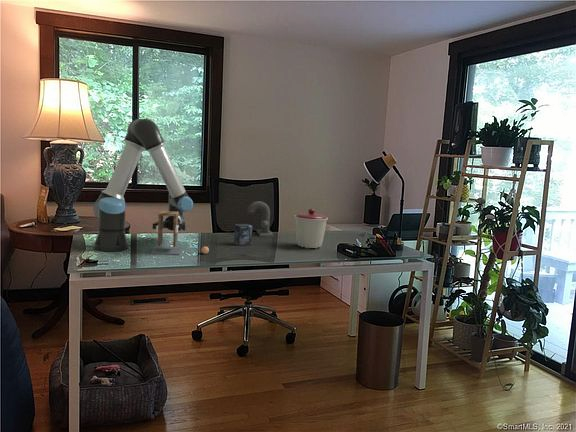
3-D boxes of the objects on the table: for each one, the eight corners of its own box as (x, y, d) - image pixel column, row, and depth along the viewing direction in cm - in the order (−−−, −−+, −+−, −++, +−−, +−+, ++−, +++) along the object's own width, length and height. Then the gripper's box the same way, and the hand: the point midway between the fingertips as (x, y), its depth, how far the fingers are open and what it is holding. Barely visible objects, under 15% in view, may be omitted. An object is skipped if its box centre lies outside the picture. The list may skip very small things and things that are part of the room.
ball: (201, 254, 235) (201, 247, 234) (201, 252, 238) (201, 245, 238) (208, 254, 235) (208, 247, 235) (208, 253, 238) (209, 245, 238)
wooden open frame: (157, 246, 231) (157, 213, 229) (160, 242, 239) (160, 210, 237) (175, 246, 232) (176, 213, 230) (177, 243, 240) (178, 211, 238)
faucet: (244, 231, 306) (246, 198, 303) (269, 232, 309) (271, 200, 306) (247, 236, 288) (249, 202, 286) (274, 237, 291) (276, 203, 288)
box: (238, 245, 261) (239, 225, 259) (233, 243, 265) (234, 224, 264) (251, 245, 265) (252, 225, 263) (246, 242, 270) (247, 223, 268)
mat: (150, 253, 229) (150, 252, 228) (155, 248, 241) (155, 246, 241) (179, 255, 230) (179, 253, 230) (182, 249, 243) (182, 248, 243)
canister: (316, 243, 281) (319, 206, 279) (331, 250, 265) (334, 211, 262) (287, 243, 274) (289, 206, 272) (300, 250, 258) (303, 210, 255)
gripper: (193, 230, 254) (189, 238, 231) (152, 228, 251) (143, 236, 229) (194, 215, 252) (189, 222, 230) (152, 213, 250) (143, 220, 228)
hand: (166, 229), depth 230 cm, fingers closed on wooden open frame, 8 cm apart
